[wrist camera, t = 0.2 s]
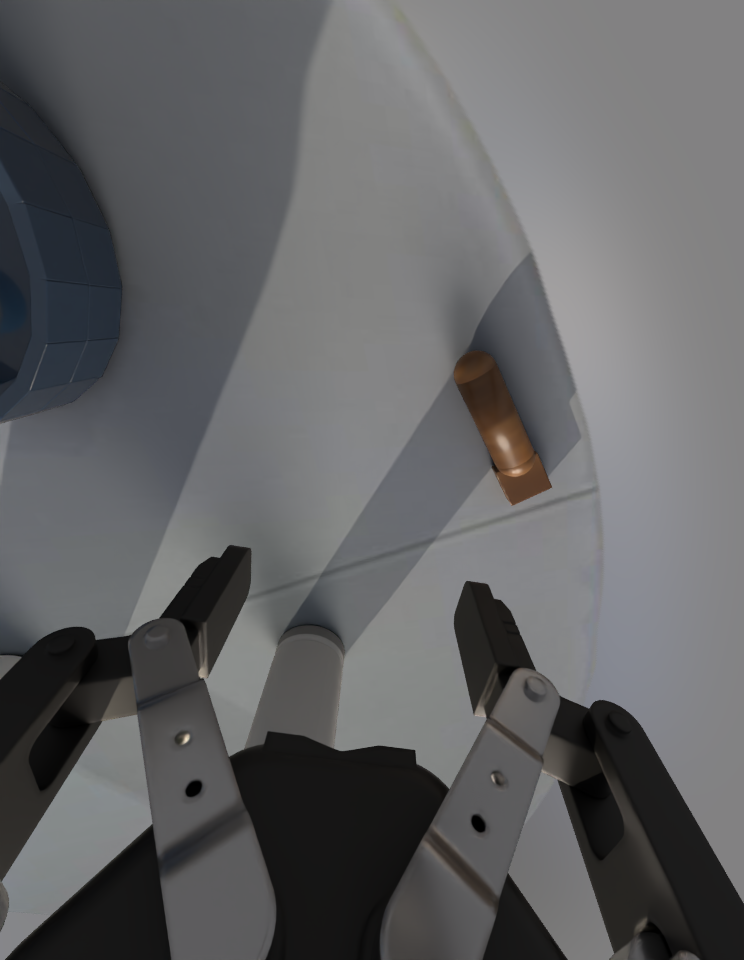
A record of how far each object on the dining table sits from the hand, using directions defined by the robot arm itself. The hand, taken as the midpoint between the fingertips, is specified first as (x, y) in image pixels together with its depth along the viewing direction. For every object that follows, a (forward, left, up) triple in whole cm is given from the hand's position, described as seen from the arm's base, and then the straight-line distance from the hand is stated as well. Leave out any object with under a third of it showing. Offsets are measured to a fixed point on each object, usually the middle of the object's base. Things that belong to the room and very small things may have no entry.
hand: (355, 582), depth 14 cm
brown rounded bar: (-7, +6, -14) cm, 17 cm away
